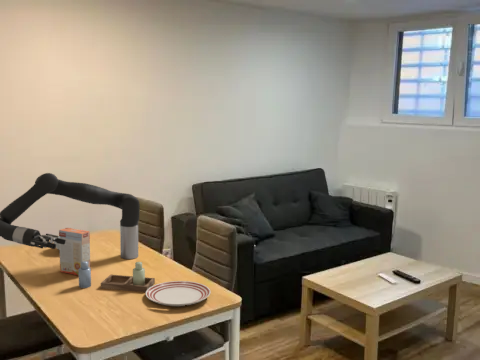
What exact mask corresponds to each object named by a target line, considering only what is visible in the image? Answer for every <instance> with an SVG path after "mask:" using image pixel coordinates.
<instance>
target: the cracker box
mask: <svg viewBox="0 0 480 360" xmlns="http://www.w3.org/2000/svg"><path fill="white" fill-rule="evenodd" d="M90 232H91V231H90V230H83V229H77V228H71V227H65V228H61V229H59V230H58V236H59V238H60V239H65V240H66V241H65V244H64V245H63V244H59V248H60V250H59V272H61V273H66V274H70V275H73V276H74V275H75V276H77V277H79V271H78V269H79V268H81V262H83V261H87V262H88V267H90V268H91V243H90V239H91V237H90V236H91V235H90V234H91V233H90Z"/></svg>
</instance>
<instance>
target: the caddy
mask: <svg viewBox="0 0 480 360" xmlns="http://www.w3.org/2000/svg"><path fill="white" fill-rule="evenodd" d="M155 283H156V279H155V277H147V276H145V286H140V285H133V275H131V276H130V275H121V274H110V275H108V276H107V277H106V278H104V279H103V280H102V281H101V282H100V289H104V290H113V291H115V290H116V291H125V292H126V291H128V292H136V293H137V292H139V293H146V291H147V289H149V288H150V287H152V286H154V285H156V284H155Z"/></svg>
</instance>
